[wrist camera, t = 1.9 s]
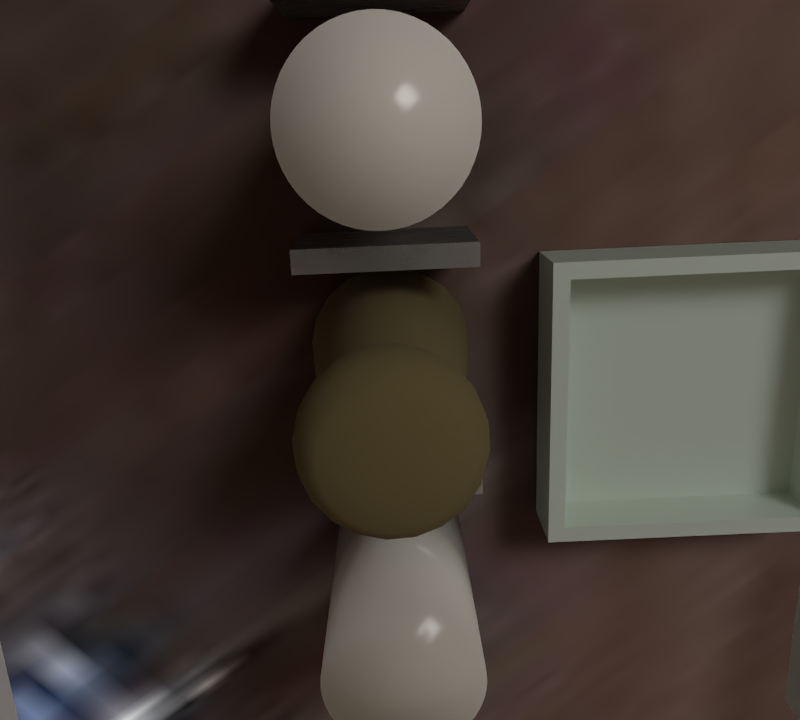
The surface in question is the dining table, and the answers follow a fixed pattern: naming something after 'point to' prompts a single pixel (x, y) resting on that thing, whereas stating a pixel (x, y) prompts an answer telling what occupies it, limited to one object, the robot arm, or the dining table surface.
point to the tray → (669, 391)
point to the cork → (391, 408)
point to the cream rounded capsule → (402, 630)
